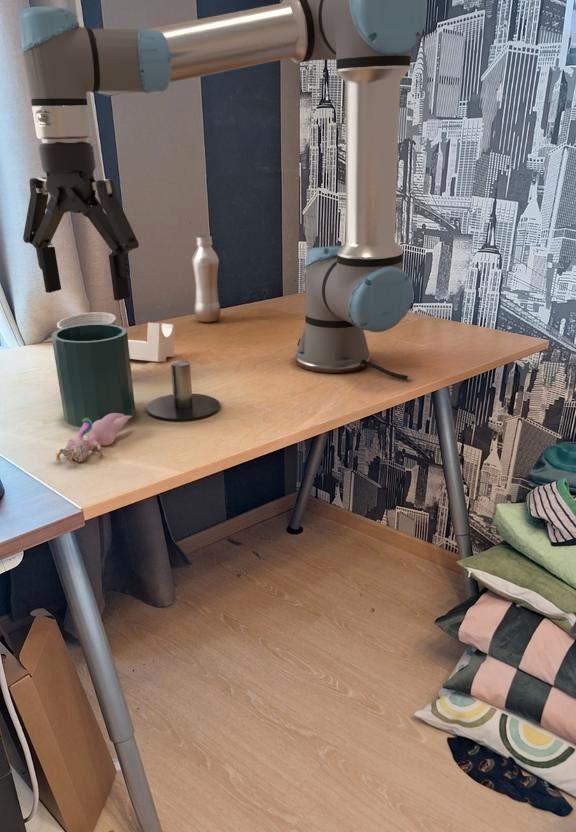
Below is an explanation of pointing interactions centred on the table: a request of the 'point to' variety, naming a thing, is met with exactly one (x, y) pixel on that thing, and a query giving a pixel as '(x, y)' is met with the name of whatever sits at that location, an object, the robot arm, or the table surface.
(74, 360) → the cup
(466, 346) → the table surface
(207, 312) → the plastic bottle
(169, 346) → the bracket
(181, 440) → the table surface
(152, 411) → the lid
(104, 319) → the plastic cup
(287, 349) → the table surface
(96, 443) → the pink toy creature
